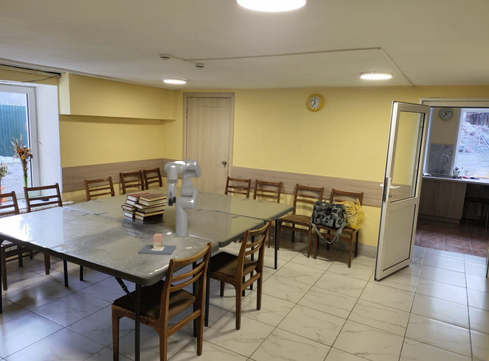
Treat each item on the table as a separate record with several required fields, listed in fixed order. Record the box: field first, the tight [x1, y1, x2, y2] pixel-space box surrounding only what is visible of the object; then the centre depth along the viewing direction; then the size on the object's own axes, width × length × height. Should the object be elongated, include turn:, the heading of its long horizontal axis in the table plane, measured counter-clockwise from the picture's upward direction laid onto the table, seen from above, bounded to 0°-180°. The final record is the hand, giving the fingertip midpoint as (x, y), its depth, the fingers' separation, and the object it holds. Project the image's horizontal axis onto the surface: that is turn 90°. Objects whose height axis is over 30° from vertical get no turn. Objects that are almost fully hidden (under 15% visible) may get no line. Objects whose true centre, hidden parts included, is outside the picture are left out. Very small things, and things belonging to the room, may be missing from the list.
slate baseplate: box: [138, 243, 177, 256], centre depth 237 cm, size 15×22×2 cm
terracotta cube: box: [153, 233, 164, 243], centre depth 235 cm, size 5×5×5 cm
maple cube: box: [152, 241, 164, 250], centre depth 236 cm, size 5×5×5 cm
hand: (172, 204), depth 248 cm, fingers open, 9 cm apart
